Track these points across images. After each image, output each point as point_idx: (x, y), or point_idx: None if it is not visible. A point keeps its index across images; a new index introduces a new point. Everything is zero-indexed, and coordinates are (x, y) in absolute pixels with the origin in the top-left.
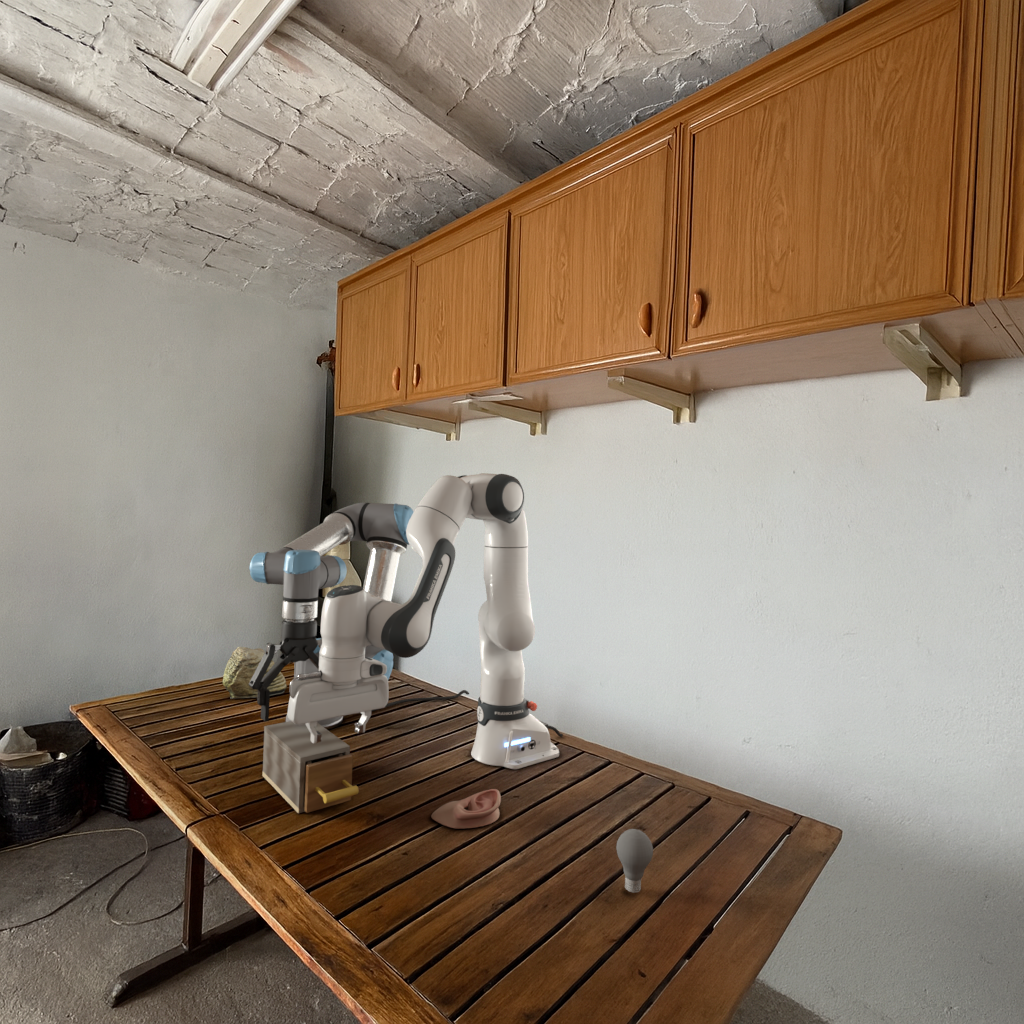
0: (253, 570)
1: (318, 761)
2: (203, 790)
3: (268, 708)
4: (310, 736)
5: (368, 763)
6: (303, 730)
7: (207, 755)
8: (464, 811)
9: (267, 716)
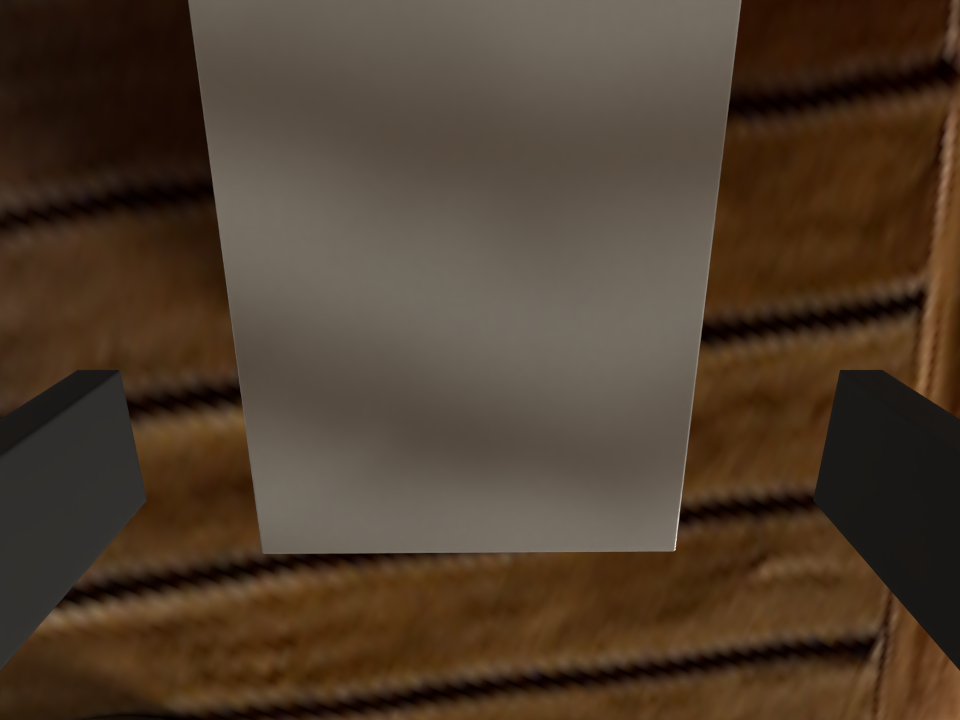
0: None
1: None
2: None
3: (950, 439)
4: (430, 73)
5: (15, 213)
6: (431, 277)
7: (706, 714)
8: None
9: (885, 394)
